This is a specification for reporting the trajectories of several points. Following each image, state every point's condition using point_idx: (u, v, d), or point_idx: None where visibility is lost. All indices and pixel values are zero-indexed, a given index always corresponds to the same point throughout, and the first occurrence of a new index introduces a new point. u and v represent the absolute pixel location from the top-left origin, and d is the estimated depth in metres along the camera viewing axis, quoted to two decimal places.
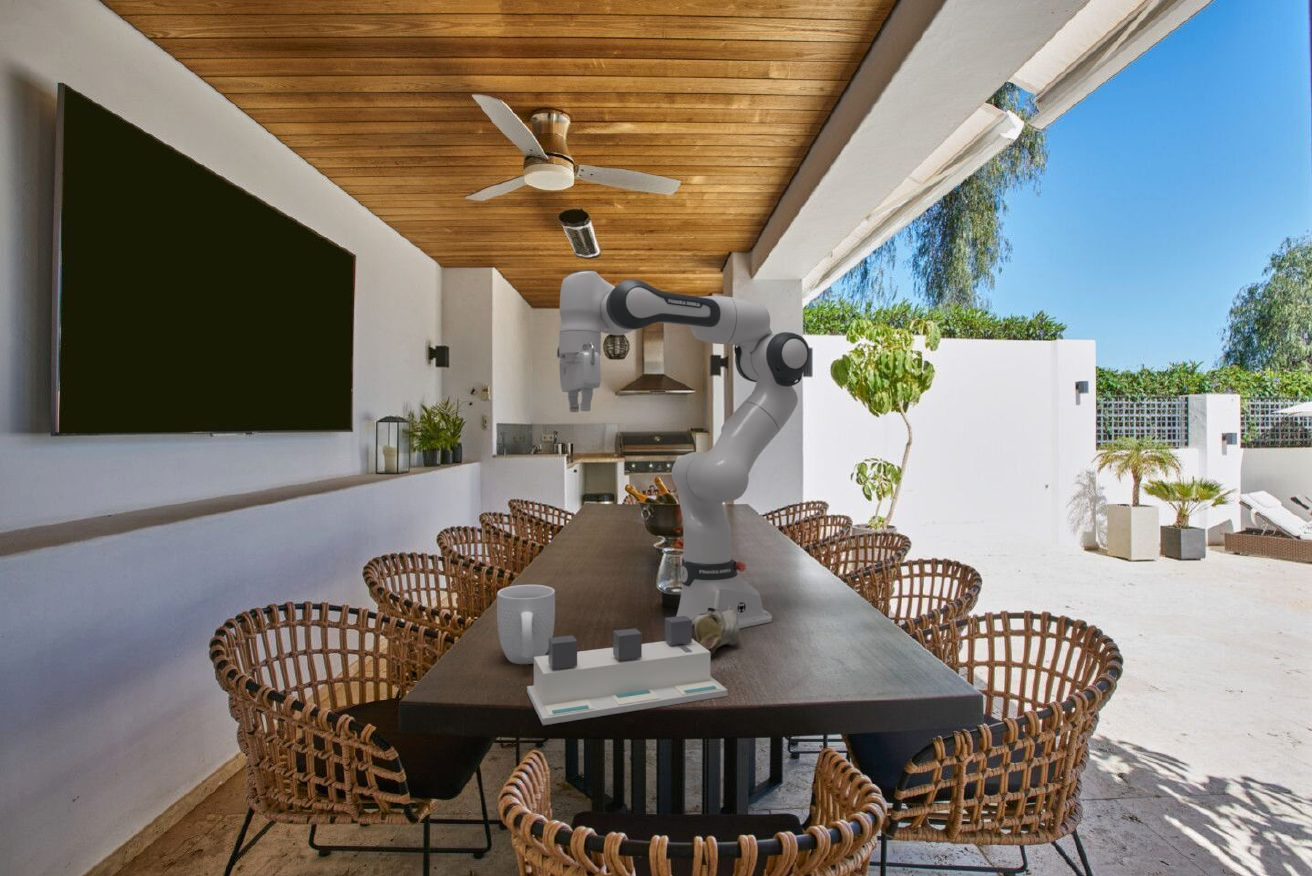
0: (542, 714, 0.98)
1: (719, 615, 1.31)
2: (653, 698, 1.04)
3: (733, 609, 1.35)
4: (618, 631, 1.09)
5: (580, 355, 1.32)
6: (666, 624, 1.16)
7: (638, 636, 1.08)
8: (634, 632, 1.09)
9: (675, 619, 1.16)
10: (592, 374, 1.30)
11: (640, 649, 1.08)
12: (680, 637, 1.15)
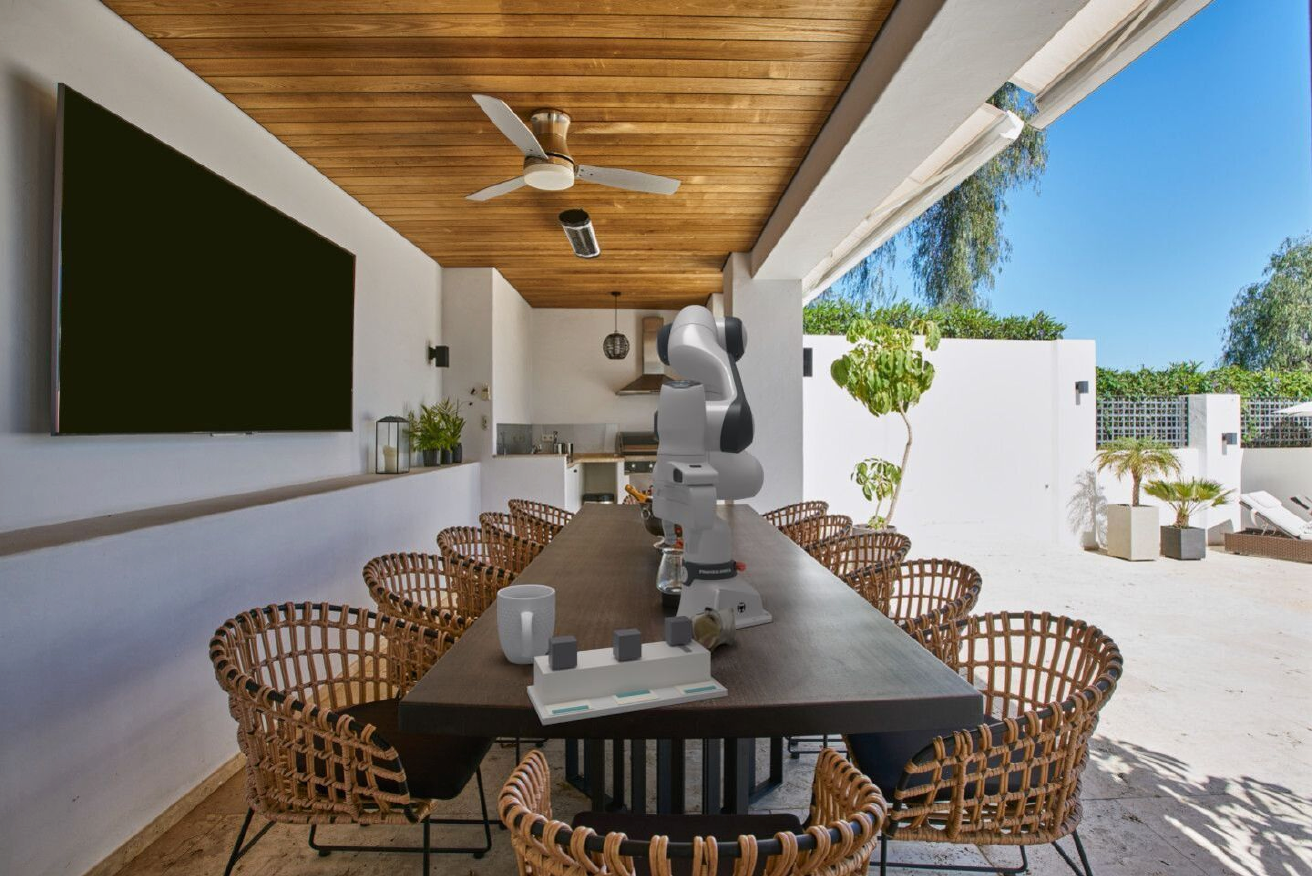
0: (542, 714, 0.98)
1: (716, 614, 1.31)
2: (653, 698, 1.04)
3: (729, 608, 1.36)
4: (618, 631, 1.09)
5: None
6: (666, 624, 1.16)
7: (638, 636, 1.08)
8: (634, 632, 1.09)
9: (675, 619, 1.16)
10: None
11: (640, 649, 1.08)
12: (680, 637, 1.15)
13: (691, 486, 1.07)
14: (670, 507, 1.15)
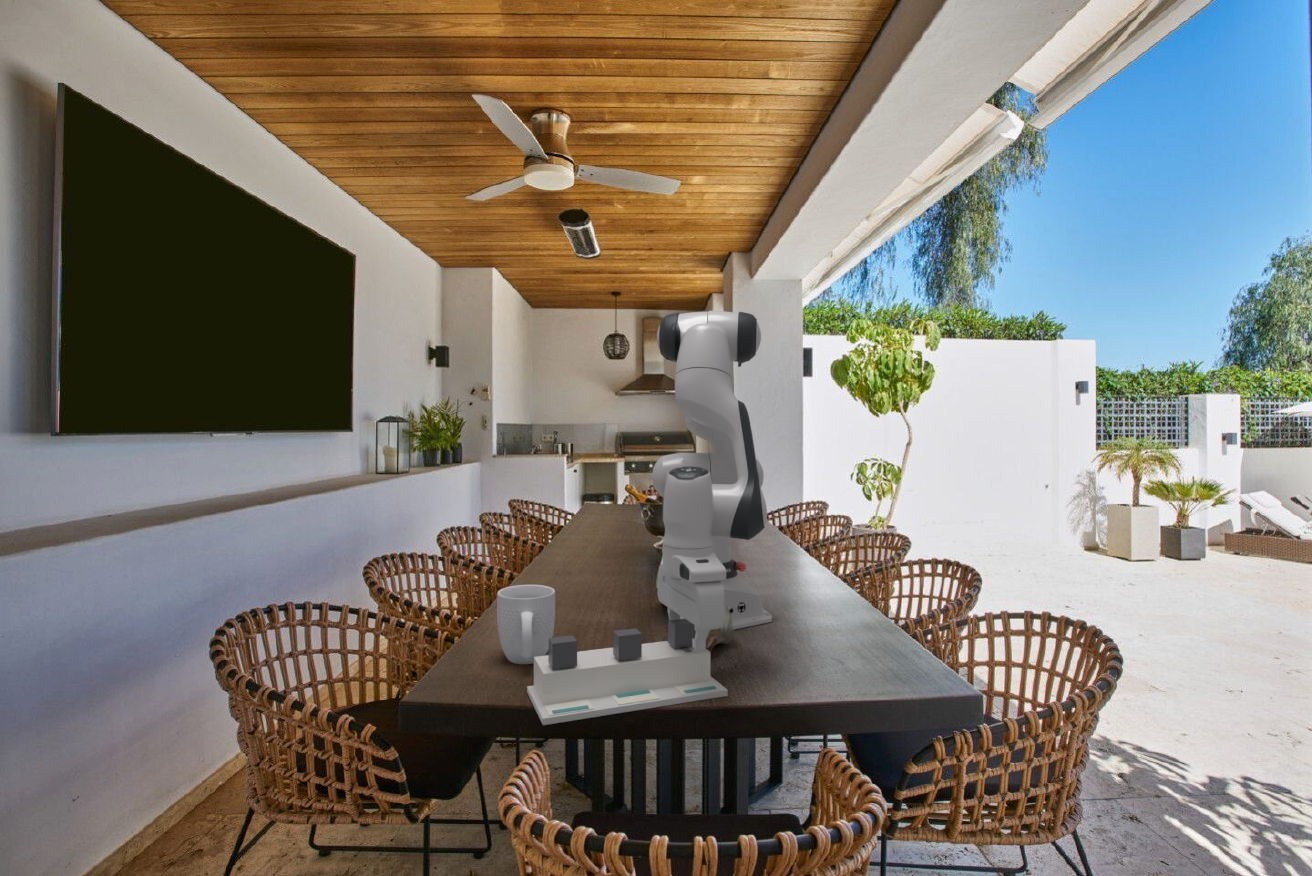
0: (542, 714, 0.98)
1: None
2: (653, 698, 1.04)
3: (726, 608, 1.36)
4: (618, 631, 1.09)
5: None
6: (670, 627, 1.15)
7: (638, 636, 1.08)
8: (634, 632, 1.09)
9: (679, 622, 1.15)
10: None
11: (640, 649, 1.08)
12: (684, 640, 1.13)
13: (698, 583, 1.04)
14: (676, 598, 1.12)
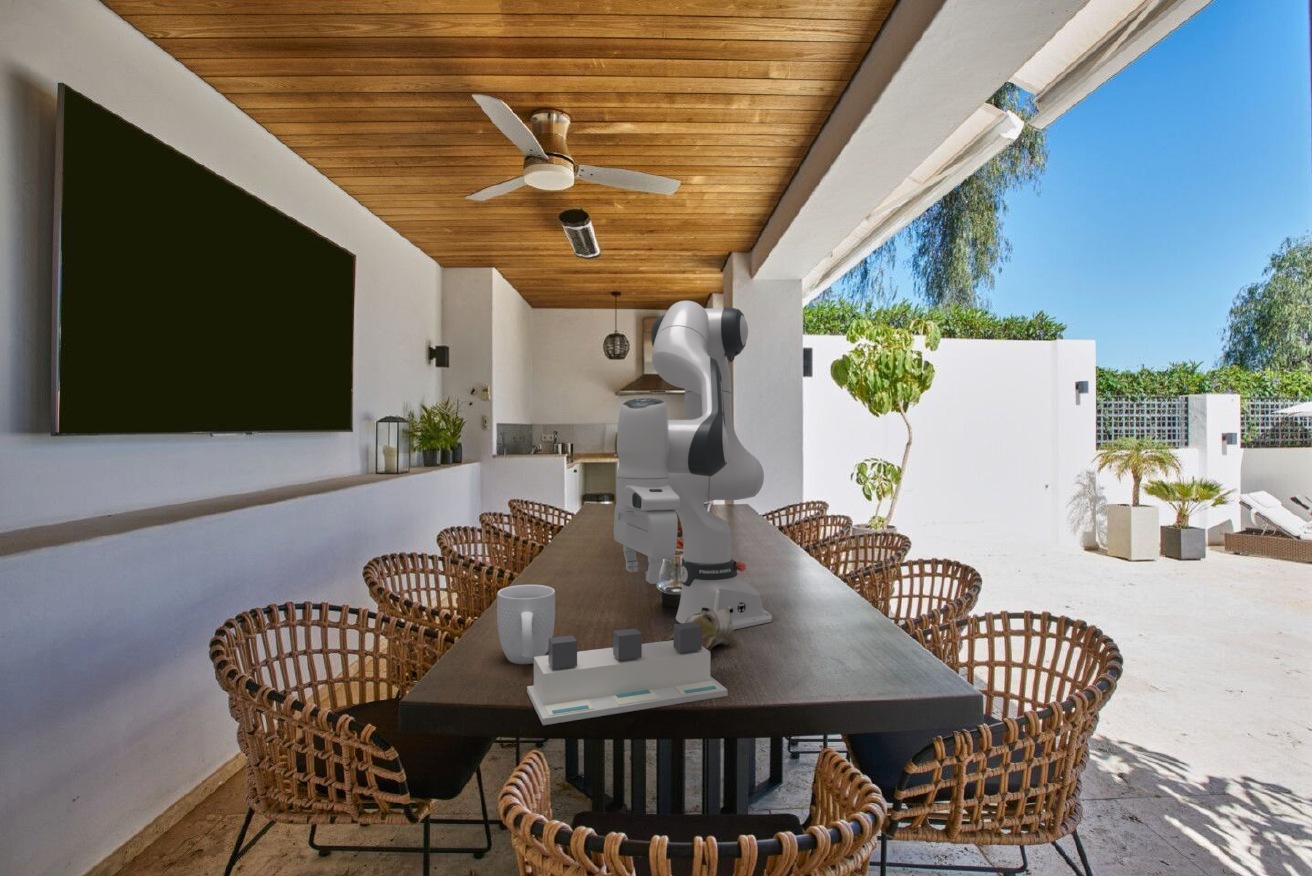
0: (542, 714, 0.98)
1: (713, 615, 1.31)
2: (653, 698, 1.04)
3: (726, 608, 1.36)
4: (618, 631, 1.09)
5: None
6: (675, 631, 1.12)
7: (638, 636, 1.08)
8: (634, 632, 1.09)
9: (684, 625, 1.12)
10: None
11: (640, 649, 1.08)
12: (690, 644, 1.11)
13: (651, 512, 1.01)
14: (630, 532, 1.09)
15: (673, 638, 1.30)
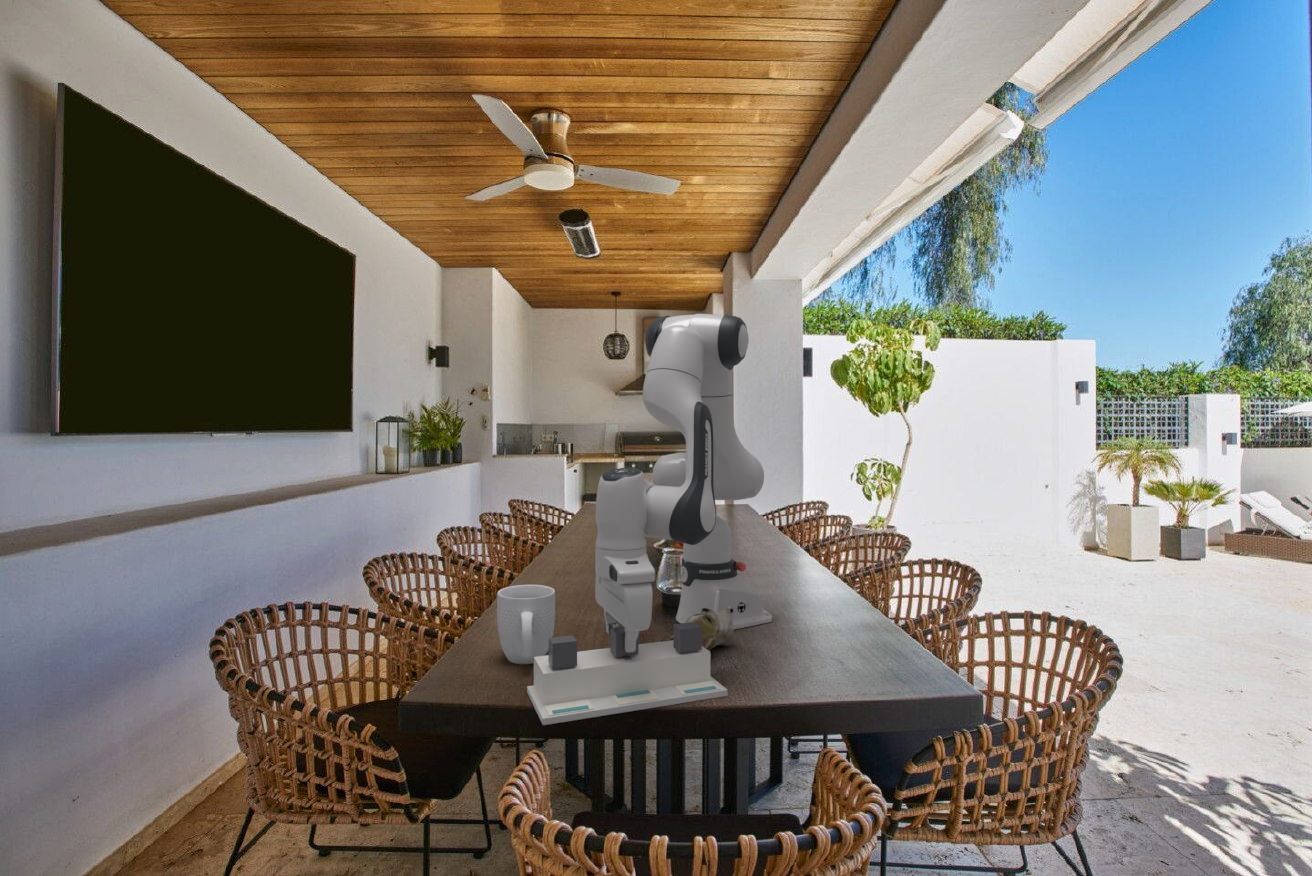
0: (542, 714, 0.98)
1: (713, 615, 1.30)
2: (653, 698, 1.04)
3: (727, 609, 1.35)
4: (615, 628, 1.10)
5: None
6: (675, 631, 1.12)
7: None
8: None
9: (684, 625, 1.12)
10: None
11: (637, 646, 1.09)
12: (690, 644, 1.11)
13: (626, 585, 1.04)
14: (609, 599, 1.12)
15: (673, 638, 1.30)
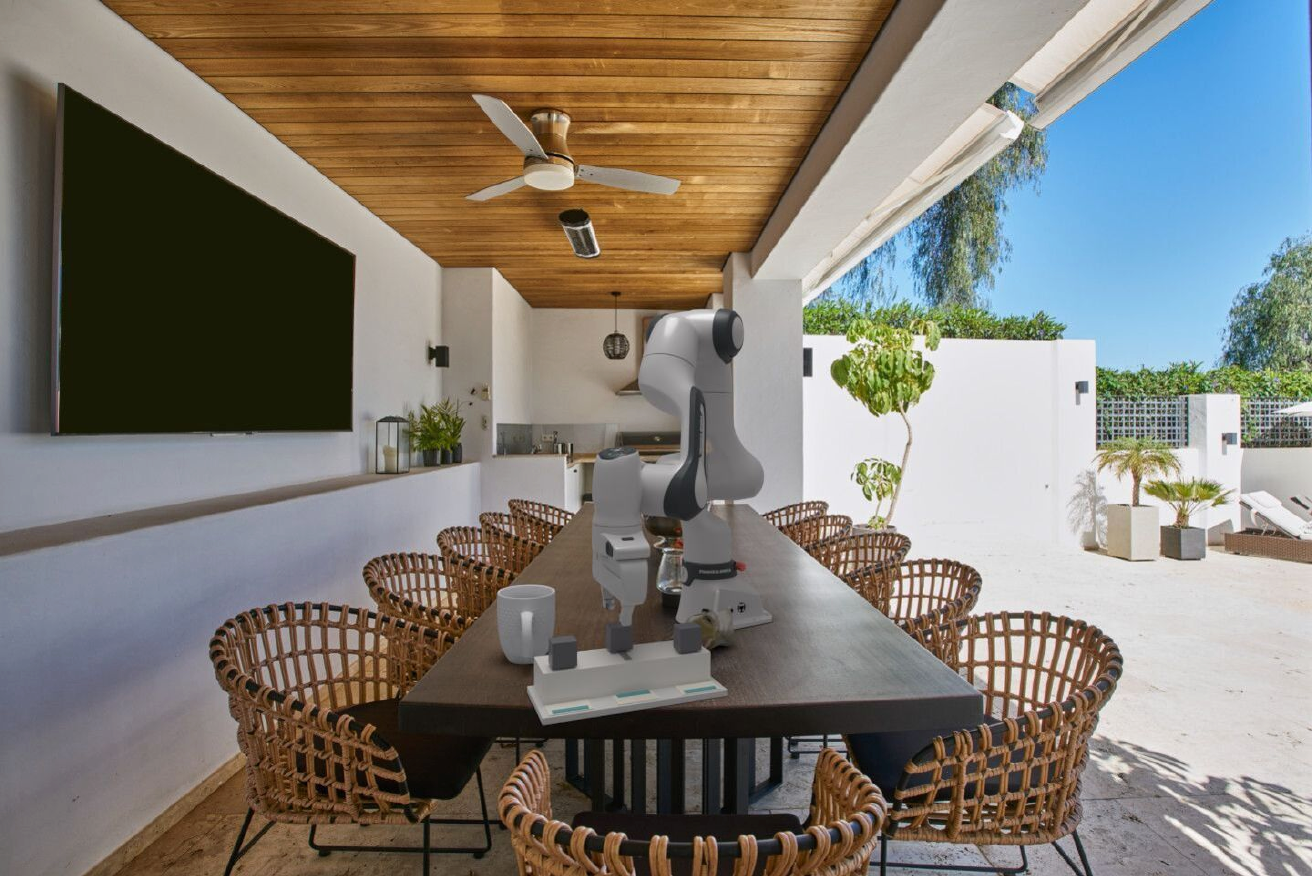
0: (542, 714, 0.98)
1: (713, 616, 1.30)
2: (653, 698, 1.04)
3: (727, 610, 1.35)
4: (610, 624, 1.13)
5: None
6: (675, 631, 1.12)
7: (630, 629, 1.12)
8: None
9: (684, 625, 1.12)
10: None
11: (631, 641, 1.12)
12: (690, 644, 1.11)
13: (622, 561, 1.07)
14: (606, 575, 1.15)
15: (673, 638, 1.30)
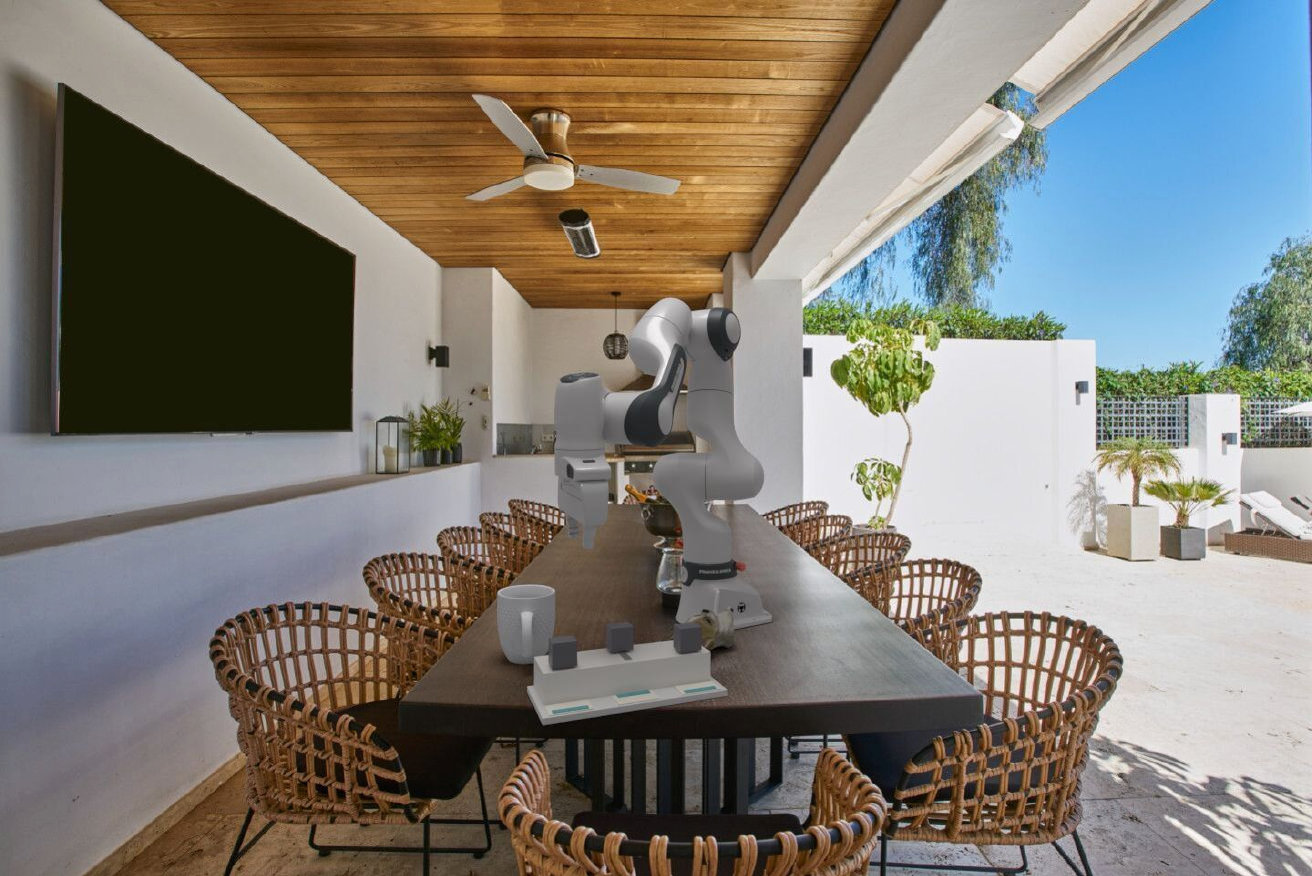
0: (542, 714, 0.98)
1: (713, 617, 1.30)
2: (653, 698, 1.04)
3: (729, 611, 1.34)
4: (611, 624, 1.13)
5: None
6: (675, 631, 1.12)
7: (630, 629, 1.11)
8: (627, 625, 1.13)
9: (684, 625, 1.12)
10: None
11: (632, 641, 1.12)
12: (690, 644, 1.11)
13: (582, 481, 1.06)
14: (569, 501, 1.15)
15: (672, 639, 1.30)
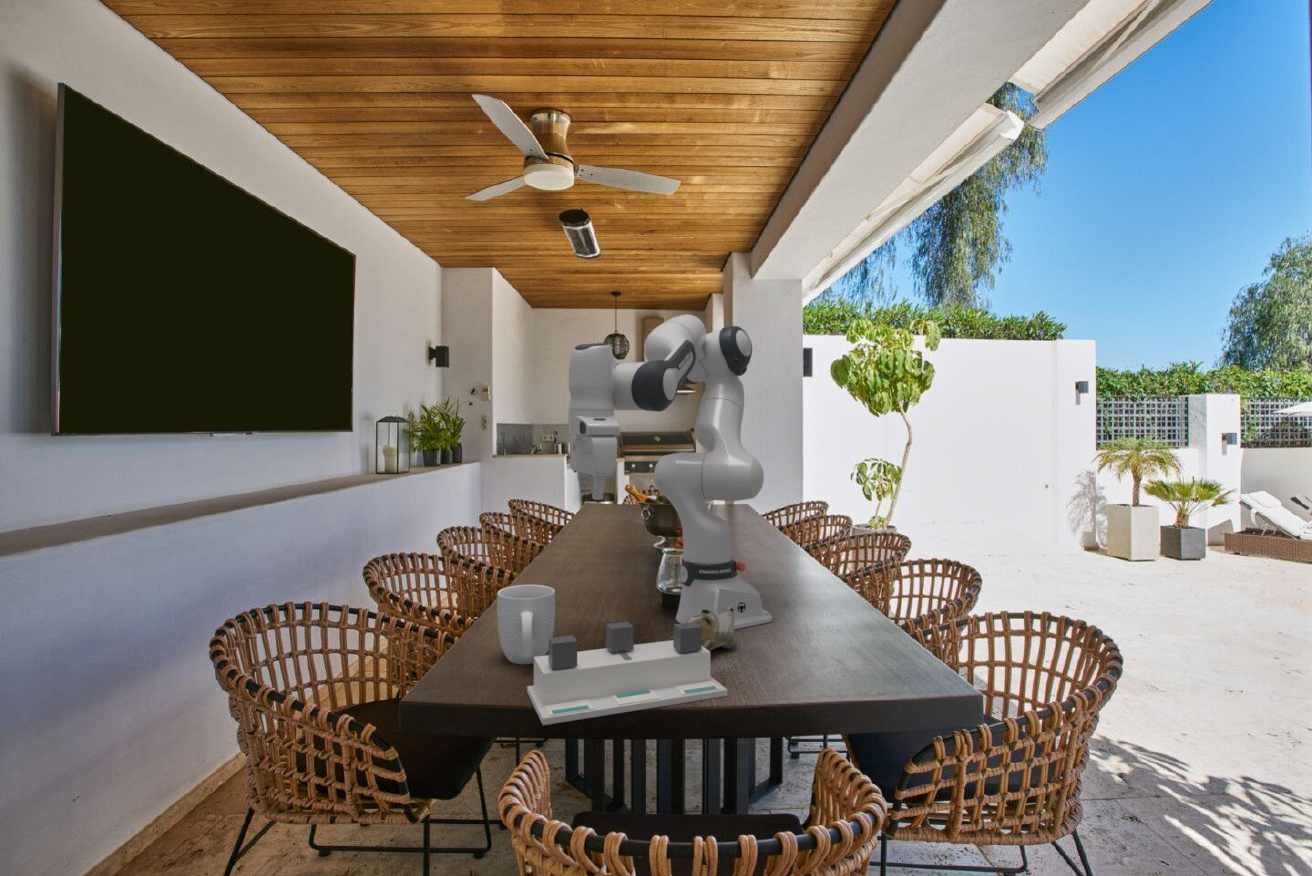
0: (542, 714, 0.98)
1: (713, 617, 1.29)
2: (653, 698, 1.04)
3: (729, 612, 1.33)
4: (611, 624, 1.13)
5: None
6: (675, 631, 1.12)
7: (630, 629, 1.11)
8: (627, 625, 1.13)
9: (684, 625, 1.12)
10: None
11: (632, 641, 1.12)
12: (690, 644, 1.11)
13: (594, 436, 1.18)
14: (581, 458, 1.26)
15: (672, 639, 1.29)
